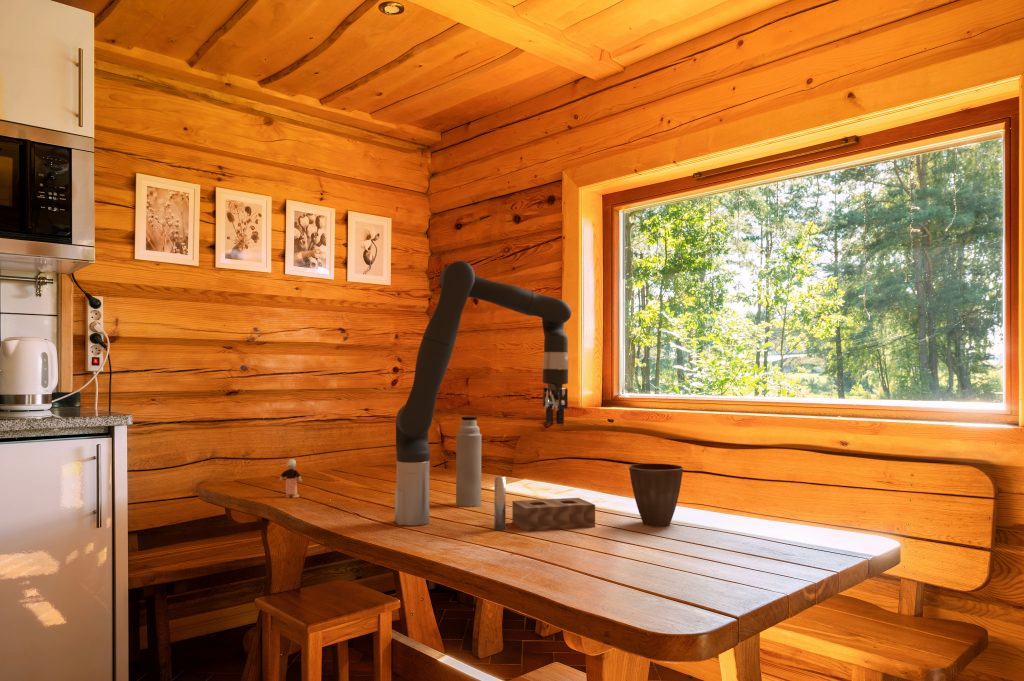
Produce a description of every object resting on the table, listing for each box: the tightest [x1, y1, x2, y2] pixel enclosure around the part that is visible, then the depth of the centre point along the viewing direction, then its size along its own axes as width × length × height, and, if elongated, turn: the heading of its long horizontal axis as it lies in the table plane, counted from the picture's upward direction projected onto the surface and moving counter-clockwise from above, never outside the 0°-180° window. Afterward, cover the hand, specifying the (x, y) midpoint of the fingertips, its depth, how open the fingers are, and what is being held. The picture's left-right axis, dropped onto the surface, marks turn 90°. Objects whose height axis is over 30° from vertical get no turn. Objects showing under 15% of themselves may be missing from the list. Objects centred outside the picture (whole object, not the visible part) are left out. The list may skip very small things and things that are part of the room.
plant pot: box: [628, 463, 684, 527], centre depth 211 cm, size 15×15×16 cm
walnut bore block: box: [511, 497, 596, 532], centre depth 209 cm, size 20×12×6 cm, turn 107°
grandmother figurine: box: [278, 458, 303, 499], centre depth 253 cm, size 8×4×13 cm, turn 94°
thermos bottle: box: [455, 416, 483, 508], centre depth 240 cm, size 8×8×28 cm
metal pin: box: [493, 475, 507, 531], centre depth 202 cm, size 3×3×14 cm
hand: (554, 422), depth 222 cm, fingers open, 8 cm apart
